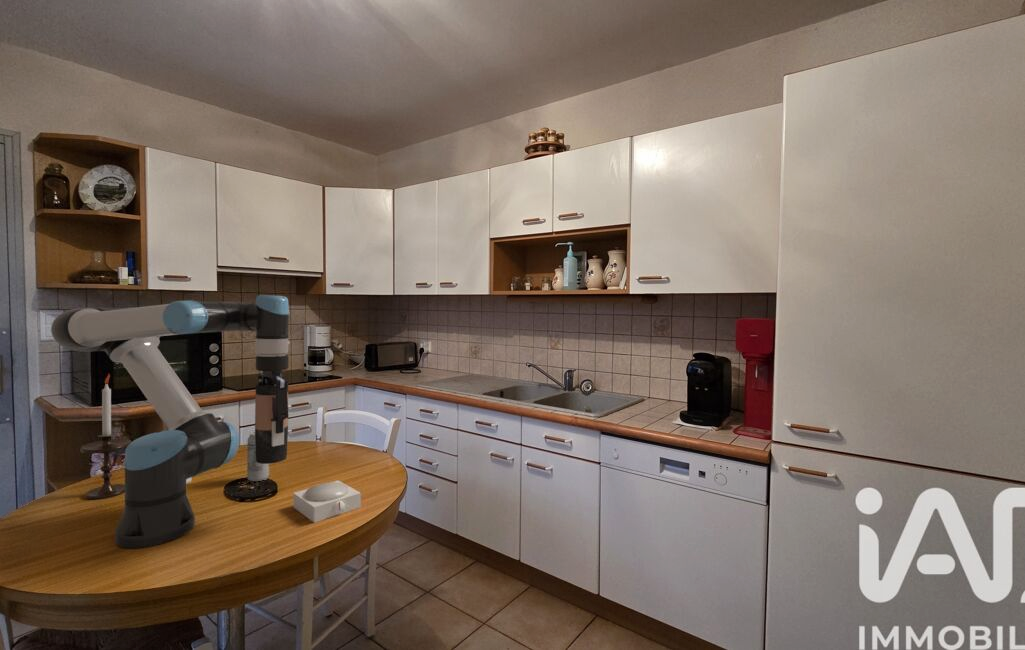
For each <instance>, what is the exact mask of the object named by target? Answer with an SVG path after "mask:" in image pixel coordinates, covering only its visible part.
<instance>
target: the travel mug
mask: <svg viewBox="0 0 1025 650" xmlns="http://www.w3.org/2000/svg"><path fill="white" fill-rule="evenodd" d="M261 384H262V382H261V383H259V384H258V383H257V384H255V407H254V409H255V410H254V411H255V412H254V413H255V415H254V432H255V447H256V462H257V463H261V464H269V465H270V464H275V463H280V462H283V461H285V460H287V457H288V440H289V439H288V435H289V417H288V418H286V419H285V420H284V444H283V445H278V446H272V422H271V419H273V411H272V397H274V398H276V397H275V385H274V386H267V385H265V386H261ZM287 398H288V399H289V382H288V383H287Z"/></svg>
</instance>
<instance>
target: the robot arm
mask: <svg viewBox="0 0 1025 650" xmlns="http://www.w3.org/2000/svg"><path fill="white" fill-rule="evenodd" d="M289 308H290V307H289V299H288V297H287V296H283V295H266V294H264V295H263V294H261V295H257V296H256V298H255V302H242V301H241V302H240V301H239V302H237V301H200V300H193V299H192V300H189V299H187V300H176V301H172V302H170V303H164V304H157V305H147V306H139V307H138V306H137V307H129V306H128V307H121V308H116V307H114V308H113V307H110V308H109V307H77V308H71V309H69V310H65V311H64V312H62V313H60V314H59V315H57V316H56V317H55V319H54V320H53V321H52V324H51V329H50V331H51V336H52V338H53V339H54V341H55V342H56V343H57V344H58V345H59V346H61V347H63V348H65V349H67V350H69V351H70V350H71V351H76V352H83V353H84V352H86V353H88V352H90V353H91V352H105V353H106V354H107V356H108V358H109V359H110V360H111V361H112V362H114V363H117V364H118V363H119V364H122V365H123V367H124V368H125V369H126V371H127V372H128V374H129V375H130V377H131V378H132V379H133V381H134V382H135V383H136V384H135V385H137V387H138V388H139V389H140V390H141V392H142V394H143V395H144V397H145V398H146V400H147V401H148V402H149V404H150V405H151V406H152V408H153V409H154V411H155V412H156V414H157V415H158V417H159V418H160V419H161V421H162V422H163V424H164V425H165V426H166V428H167V430H161V431H160V432H151V433H149V434H146V435H142V436H140V437H138V438H135V439H134V440H133V441H132V440H131V443H130V444H129V445H128V446H127V448H125V452H124V460H123V467H124V485H125V492H124V508H123V510H122V513H121V516H120V518H119V521H118V523H117V525H116V527H115V528H116V529H115V530H114V531H115V532H114V544H115V545H116V546H118V547H120V548H127V549H138V548H139V549H140V548H146V547H151V546H156V545H160V544H164V543H167V542H170V541H172V540H175V539H178V538H180V537H182V536H184V535H185V534H187V533H188V532H190V531H191V530H192V529H193V528H194V527H195V524H196V520H195V519H196V518H195V517H196V515H195V513H194V512H195V511H194V510H193V508H192V505H191V503H190V501H189V498H188V496H187V483H186V479H188V478H191V477H192V478H193V477H196V476H197V475H201V474H205V473H206V472H210V470H213V469H218V468H220V467H221V466H222V465H225V464H227V463H228V462H230V461H232V459H234V457H235V456H236V454H237V452H238V450H239V444H240V436H239V432H238V430H237V429H236V427H235V426H234V425H233V424H232V423H230V422H226V421H218V419H217V418H216V416H215V415H214V413H212V412H208V411H203V410H202V408H201V407H200V405H199V404H198V402H197V401H196V400H195V399H194V397H193V396H192V394H191V393H190V391H189V390H188V388H187V387H186V386H185V384H184V383H183V381H182V380H181V378H179V376H178V375H177V373H176V372H175V370H174V369H173V368H172V367H171V365H170V363H169V362H168V361H167V359H166V358H165V356H164V355H163V354H162V352H161V350H160V349H159V348H158V347H159V345H160V343H161V341H160V338H161V337H164V336H167V337H168V336H177V335H188V334H191V335H192V334H200V333H202V334H204V333H220V332H221V333H222V332H255V347H254V348H255V351H254V352H255V354H256V356H255V370H256V371H258V372H262V374H261V373H260V374H258V375H257V376H256V377H257V385H258V384H259V383H261V382H262V384H261V386H265V385H267V386H274V385H275V397H276V398H274V397H272V411H273V419H271V422H272V446H278V445H283V444H284V420H285V419H286V418H288V419H289V397H288V398H287V383H288V384H289V382H288V379H287V378H286V379H283V377H284V376H283V374H282V371H285V370H288V369H289V356H288V355H287V354H288V353H289V346H290V344H291V342H290V341H289V322H290V321H289V320H290V309H289Z"/></svg>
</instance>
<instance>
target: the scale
mask: <svg viewBox="0 0 1025 650" xmlns="http://www.w3.org/2000/svg"><path fill="white" fill-rule="evenodd" d="M292 494H293V495H292V496H293V497H292V498H293V499H292V501H293V502H292V503H293V504H292V505H293V506H292V508H294V509H295V510H296V511H298V513H300V514H302V515H303V516H305V517H306V518H307V519H308V520H310V521H311V522H313V523H314V524H315V523H318V522H321V521H323V520H327V519H329V518H332V517H336V516H339V515H342V514H344V513H347V512H350V511H353V510H356V509H360V508H362V493H361V492H360V491H359V490H356V489H354V488H353V487H351V486H349V485H347V484H345V483H344V482H342V481H340V480H335V481H330V482H324V483H319V484H315V485H313V486H311V487H309V488H305V489H302V490H299V491H295V492H293V493H292Z"/></svg>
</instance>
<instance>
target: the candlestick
mask: <svg viewBox="0 0 1025 650" xmlns="http://www.w3.org/2000/svg"><path fill="white" fill-rule="evenodd" d="M110 377H111V375H110V374H108V375H107V376H106V378H105V380H104V384H105V385H104V388H102V389H101V394H102V396H101V398H102V399H101V402H102V403H101V412H102V414H101V419H102V422H101V423H102V424H101V426H102V431H101V432H102V434H99V435H97V437H98V438H101V440H98V441H94V442H89V443H85V444H84V445H81V447H80V453H83V454H102V455H103V465H101V466H100V468H99V470H100V471H101V472H102V475H101V476H100V478H101V479H103V484H102V485H101V486H98V487H95V488H92V489H90V490H88V491H87V492H85V494H84V495H85V499H86V500H92V501H93V500H105V499H109V498H114V497H117V496H120V495H123V494H125V483H115V484H114V483H113V484H112V482H111V477H113V474H112V473H111V471H112V470H113V469H114V466H113V464H111V453H113V452H115V451H121V450H124V449H126V448H127V446H128V445H129V444H130V443H131V442H132V439H128V438H112V436H115V435H116V434H117V433H113V432H112V388H110V387H109V380H110Z"/></svg>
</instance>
